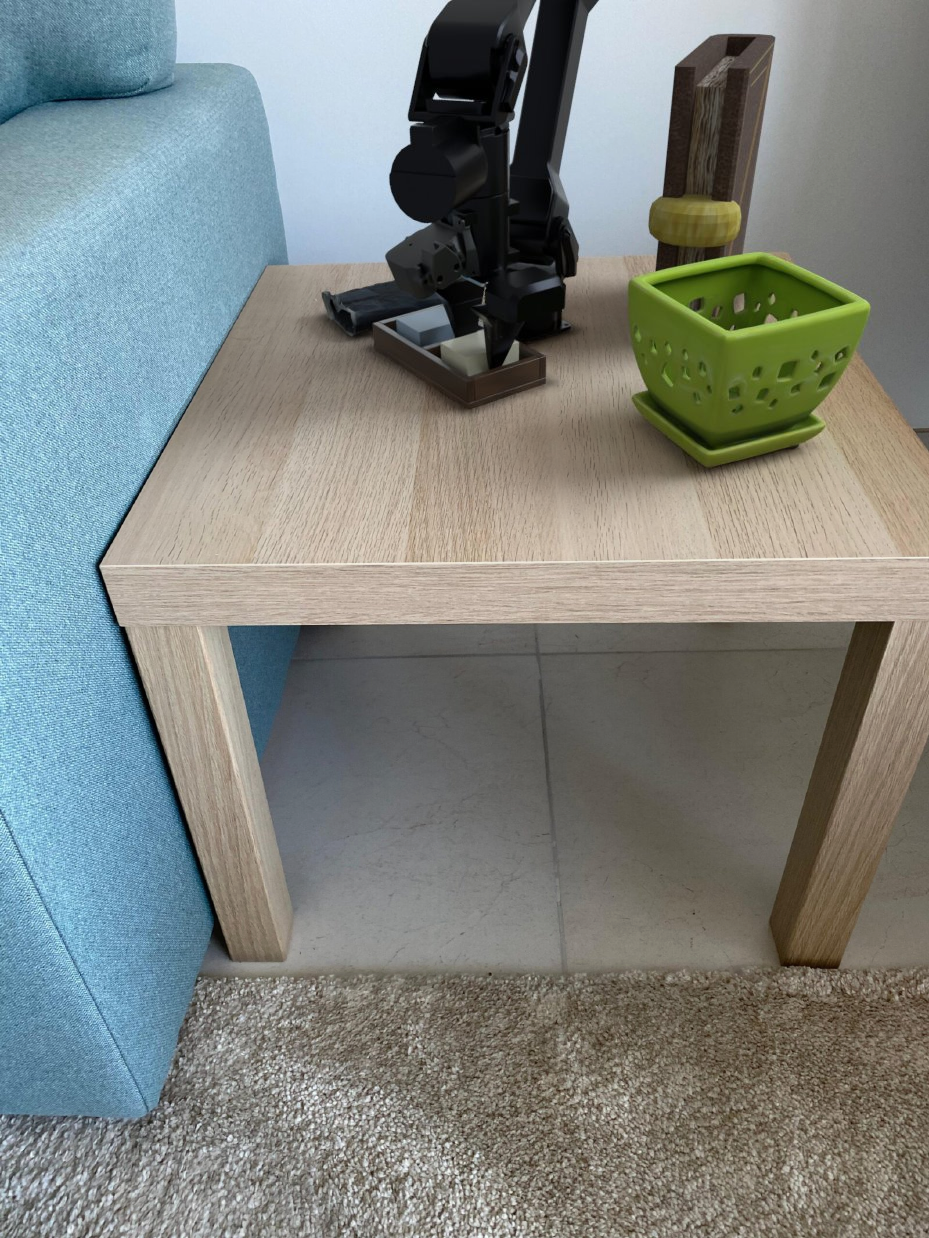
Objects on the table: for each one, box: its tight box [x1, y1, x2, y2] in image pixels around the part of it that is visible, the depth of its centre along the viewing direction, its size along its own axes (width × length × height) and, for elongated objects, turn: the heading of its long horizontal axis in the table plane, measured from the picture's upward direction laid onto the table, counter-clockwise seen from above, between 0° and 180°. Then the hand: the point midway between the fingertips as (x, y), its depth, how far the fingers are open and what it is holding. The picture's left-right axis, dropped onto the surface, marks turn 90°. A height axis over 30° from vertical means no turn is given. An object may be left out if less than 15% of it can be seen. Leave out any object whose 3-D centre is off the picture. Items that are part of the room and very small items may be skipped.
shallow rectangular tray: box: [372, 304, 547, 410], centre depth 93 cm, size 9×17×3 cm, turn 34°
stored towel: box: [396, 306, 455, 348], centre depth 95 cm, size 6×4×3 cm
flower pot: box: [627, 251, 871, 469], centre depth 77 cm, size 14×14×13 cm
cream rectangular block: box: [440, 330, 519, 377], centre depth 90 cm, size 6×4×3 cm
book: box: [647, 33, 776, 317], centre depth 93 cm, size 22×8×25 cm, turn 159°
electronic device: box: [321, 279, 442, 337], centre depth 103 cm, size 9×6×15 cm
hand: (480, 362), depth 90 cm, fingers closed on cream rectangular block, 4 cm apart
